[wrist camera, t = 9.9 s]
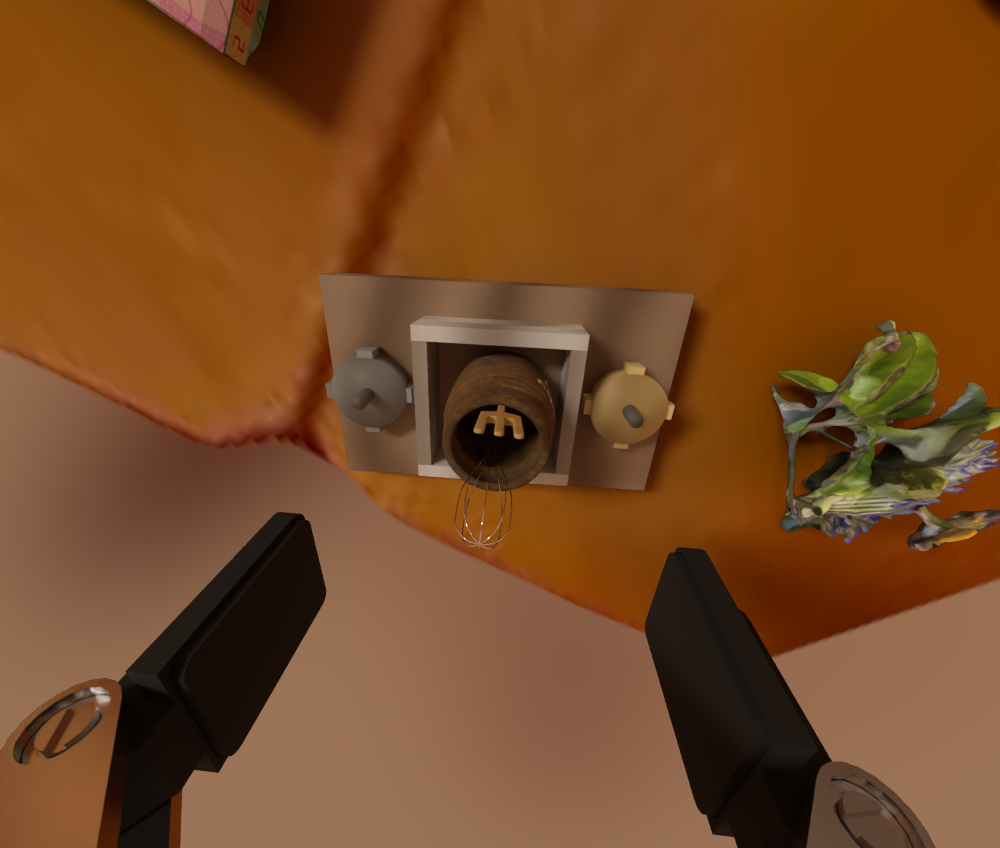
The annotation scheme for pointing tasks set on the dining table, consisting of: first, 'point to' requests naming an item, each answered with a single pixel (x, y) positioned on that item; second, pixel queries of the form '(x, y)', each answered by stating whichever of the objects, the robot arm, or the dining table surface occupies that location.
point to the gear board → (503, 327)
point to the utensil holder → (498, 426)
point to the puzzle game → (221, 23)
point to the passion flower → (889, 444)
